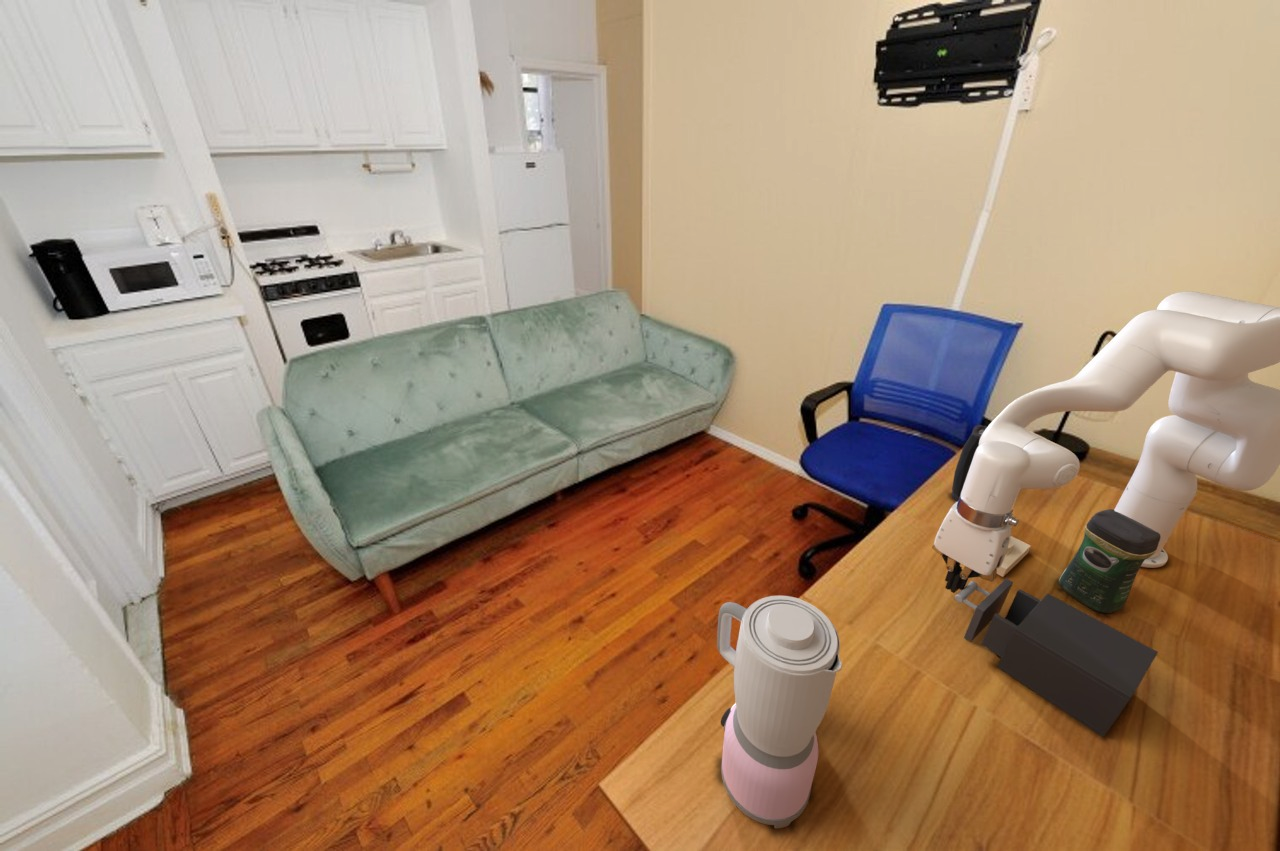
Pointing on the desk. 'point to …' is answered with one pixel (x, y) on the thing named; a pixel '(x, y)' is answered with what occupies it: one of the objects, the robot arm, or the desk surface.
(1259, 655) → the desk surface
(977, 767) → the desk surface
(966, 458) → the portable speaker
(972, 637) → the drawer
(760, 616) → the blender
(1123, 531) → the coffee jar
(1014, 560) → the block
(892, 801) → the desk surface
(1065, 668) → the box
